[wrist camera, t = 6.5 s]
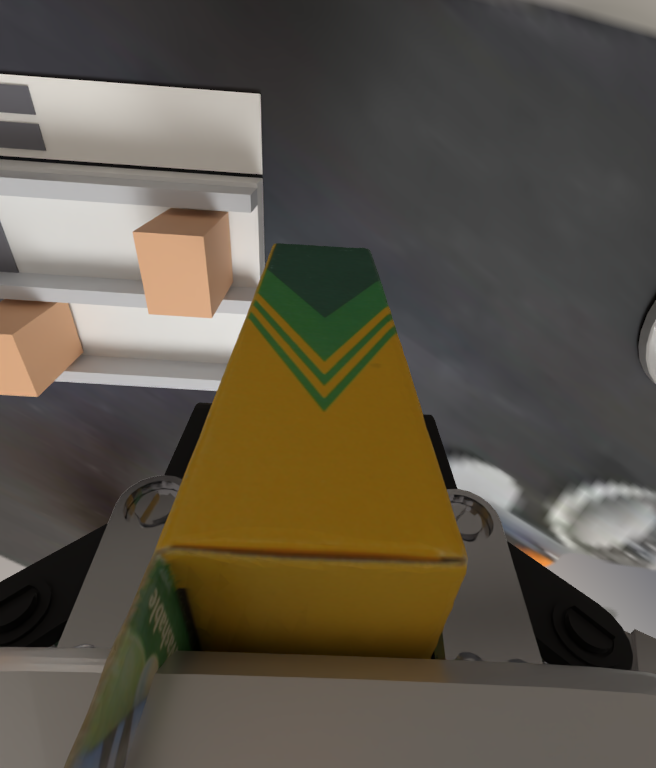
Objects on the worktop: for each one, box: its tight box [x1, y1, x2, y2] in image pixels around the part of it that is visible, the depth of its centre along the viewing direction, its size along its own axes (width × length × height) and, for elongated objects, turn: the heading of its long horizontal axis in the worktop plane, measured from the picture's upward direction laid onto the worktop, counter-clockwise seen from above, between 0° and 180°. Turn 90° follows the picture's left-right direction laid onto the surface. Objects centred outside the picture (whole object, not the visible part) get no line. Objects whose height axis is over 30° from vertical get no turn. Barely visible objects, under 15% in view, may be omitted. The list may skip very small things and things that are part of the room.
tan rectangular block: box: [132, 208, 233, 318], centre depth 20 cm, size 3×4×5 cm
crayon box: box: [64, 244, 468, 768], centre depth 9 cm, size 7×3×12 cm, turn 177°
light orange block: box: [0, 299, 83, 397], centre depth 23 cm, size 3×4×5 cm
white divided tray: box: [0, 74, 265, 391], centre depth 23 cm, size 16×16×4 cm
